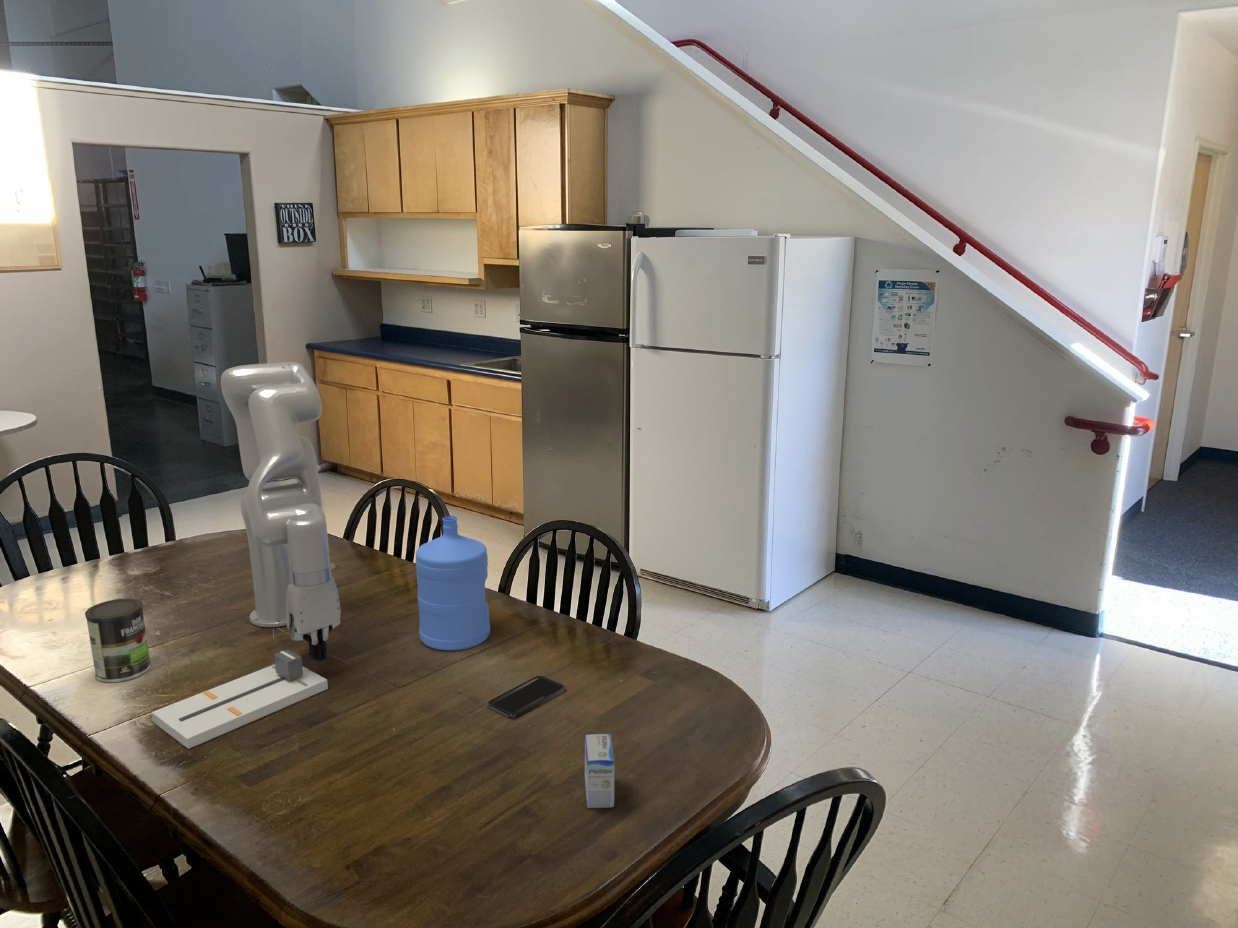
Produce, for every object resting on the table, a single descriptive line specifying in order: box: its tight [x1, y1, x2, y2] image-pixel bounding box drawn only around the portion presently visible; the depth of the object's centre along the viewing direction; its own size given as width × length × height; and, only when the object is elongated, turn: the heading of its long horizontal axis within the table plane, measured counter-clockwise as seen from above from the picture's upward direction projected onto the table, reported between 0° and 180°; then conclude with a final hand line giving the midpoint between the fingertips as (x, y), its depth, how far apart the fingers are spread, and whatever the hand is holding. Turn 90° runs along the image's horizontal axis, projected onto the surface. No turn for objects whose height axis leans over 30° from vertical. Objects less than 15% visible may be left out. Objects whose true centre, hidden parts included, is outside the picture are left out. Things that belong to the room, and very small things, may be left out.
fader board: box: [151, 663, 329, 750], centre depth 174 cm, size 28×14×2 cm, turn 140°
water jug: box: [415, 515, 491, 651], centre depth 200 cm, size 16×16×28 cm
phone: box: [486, 675, 566, 720], centre depth 177 cm, size 8×1×15 cm
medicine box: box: [584, 733, 616, 809], centre depth 146 cm, size 8×4×9 cm, turn 5°
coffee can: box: [84, 598, 152, 683], centre depth 186 cm, size 10×10×14 cm
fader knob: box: [273, 649, 303, 681], centre depth 181 cm, size 3×5×4 cm, turn 50°
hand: (318, 658), depth 186 cm, fingers closed
